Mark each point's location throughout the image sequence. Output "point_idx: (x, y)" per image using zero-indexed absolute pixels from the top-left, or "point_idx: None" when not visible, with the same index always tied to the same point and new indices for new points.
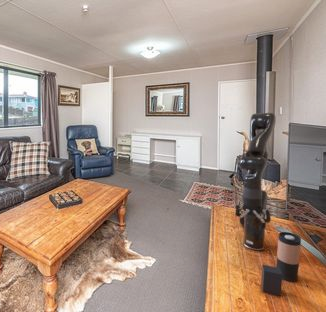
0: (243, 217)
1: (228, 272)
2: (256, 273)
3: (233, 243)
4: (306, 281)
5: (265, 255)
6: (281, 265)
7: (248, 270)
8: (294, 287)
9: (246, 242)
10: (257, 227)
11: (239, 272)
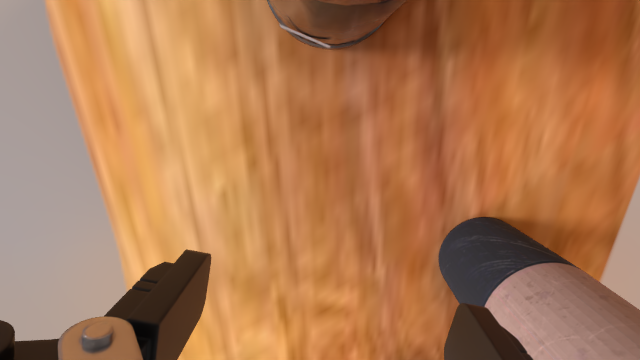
0: (152, 346)
1: (228, 356)
2: (348, 300)
3: (197, 9)
4: (557, 251)
5: (400, 82)
6: None
7: (312, 294)
8: None
9: (282, 20)
10: (385, 3)
11: (274, 332)
